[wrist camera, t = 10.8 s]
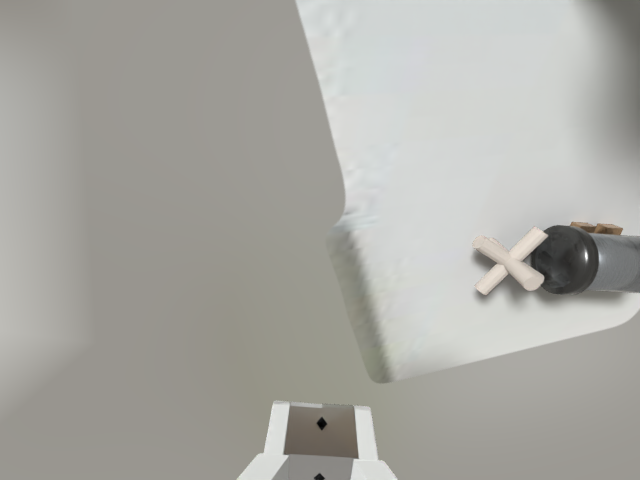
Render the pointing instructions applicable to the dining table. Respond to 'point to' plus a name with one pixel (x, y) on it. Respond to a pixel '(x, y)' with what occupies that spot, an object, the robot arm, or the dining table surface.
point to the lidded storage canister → (588, 259)
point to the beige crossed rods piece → (510, 261)
